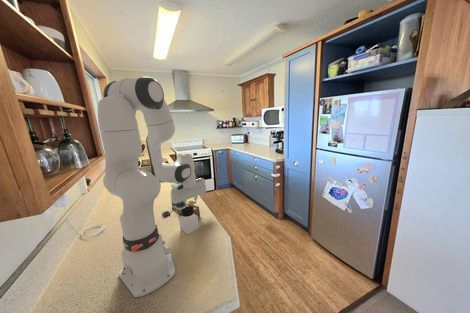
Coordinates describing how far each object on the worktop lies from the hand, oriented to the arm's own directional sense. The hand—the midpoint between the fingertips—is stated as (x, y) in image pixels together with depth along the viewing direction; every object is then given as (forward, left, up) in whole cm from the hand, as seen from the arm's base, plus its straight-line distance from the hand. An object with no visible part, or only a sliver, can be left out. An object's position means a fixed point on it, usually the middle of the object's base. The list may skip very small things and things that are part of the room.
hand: (191, 204), depth 101 cm
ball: (0, 0, +1) cm, 1 cm away
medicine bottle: (-9, +6, -8) cm, 14 cm away
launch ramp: (+4, 0, -8) cm, 9 cm away
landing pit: (+15, 0, -8) cm, 17 cm away
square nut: (+14, +10, -8) cm, 19 cm away
